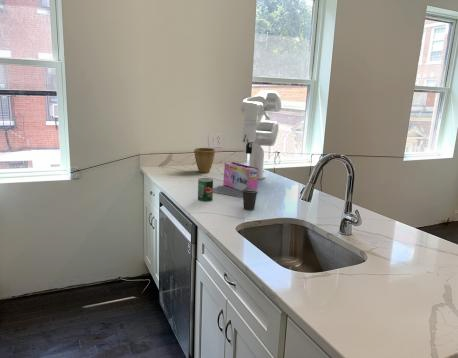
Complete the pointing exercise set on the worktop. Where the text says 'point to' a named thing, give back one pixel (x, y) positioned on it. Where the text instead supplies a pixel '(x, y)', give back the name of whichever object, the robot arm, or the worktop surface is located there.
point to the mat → (228, 191)
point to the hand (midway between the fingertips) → (248, 153)
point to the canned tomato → (205, 189)
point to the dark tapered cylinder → (249, 198)
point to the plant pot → (204, 159)
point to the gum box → (240, 176)
